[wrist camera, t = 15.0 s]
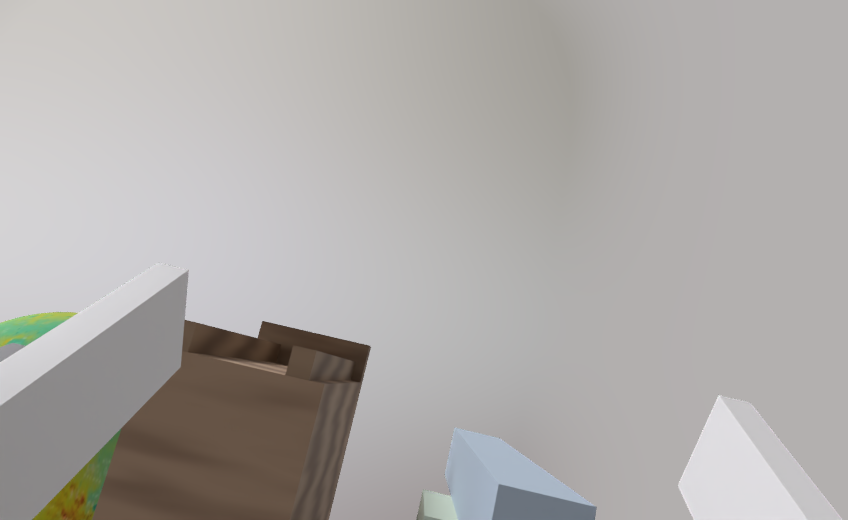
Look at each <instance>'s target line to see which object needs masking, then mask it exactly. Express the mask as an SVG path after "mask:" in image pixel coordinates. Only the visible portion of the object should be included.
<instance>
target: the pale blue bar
mask: <svg viewBox="0 0 848 520" xmlns="http://www.w3.org/2000/svg"><path fill="white" fill-rule="evenodd" d="M445 477H446V480H447V484H448V487H449V491H450V494H451V498H452V501H453V504H454V508H455V511H456V515H457V518H458V520H595V515H596V506H594V505H593V504H591V503H590V502H589V501H587V500H586V499H584V498H583V497H582V496H580V495H579V494H577V493H576V492H575V491H573V490H572V489H570V488H569V487H568V486H566V485H565V484H563V483H562V482H560V481H559V480H558V479H556V478H555V477H553V476H552V475H551V474H549V473H548V472H546V471H545V470H544V469H542V468H541V467H539V466H538V465H537V464H535V463H534V462H532V461H531V460H530V459H528V458H527V457H525V456H524V455H523V454H521V453H520V452H518V451H517V450H515V449H514V448H513V447H511V446H510V445H508V444H507V443H506V442H504V441H503V440H501V439H500V438H497V437H493V436H488V435H484V434H480V433H475V432H471V431H467V430H463V429H458V428H454V433H453V438H452V443H451V447H450V452H449V457H448V462H447V467H446V471H445Z"/></svg>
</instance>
